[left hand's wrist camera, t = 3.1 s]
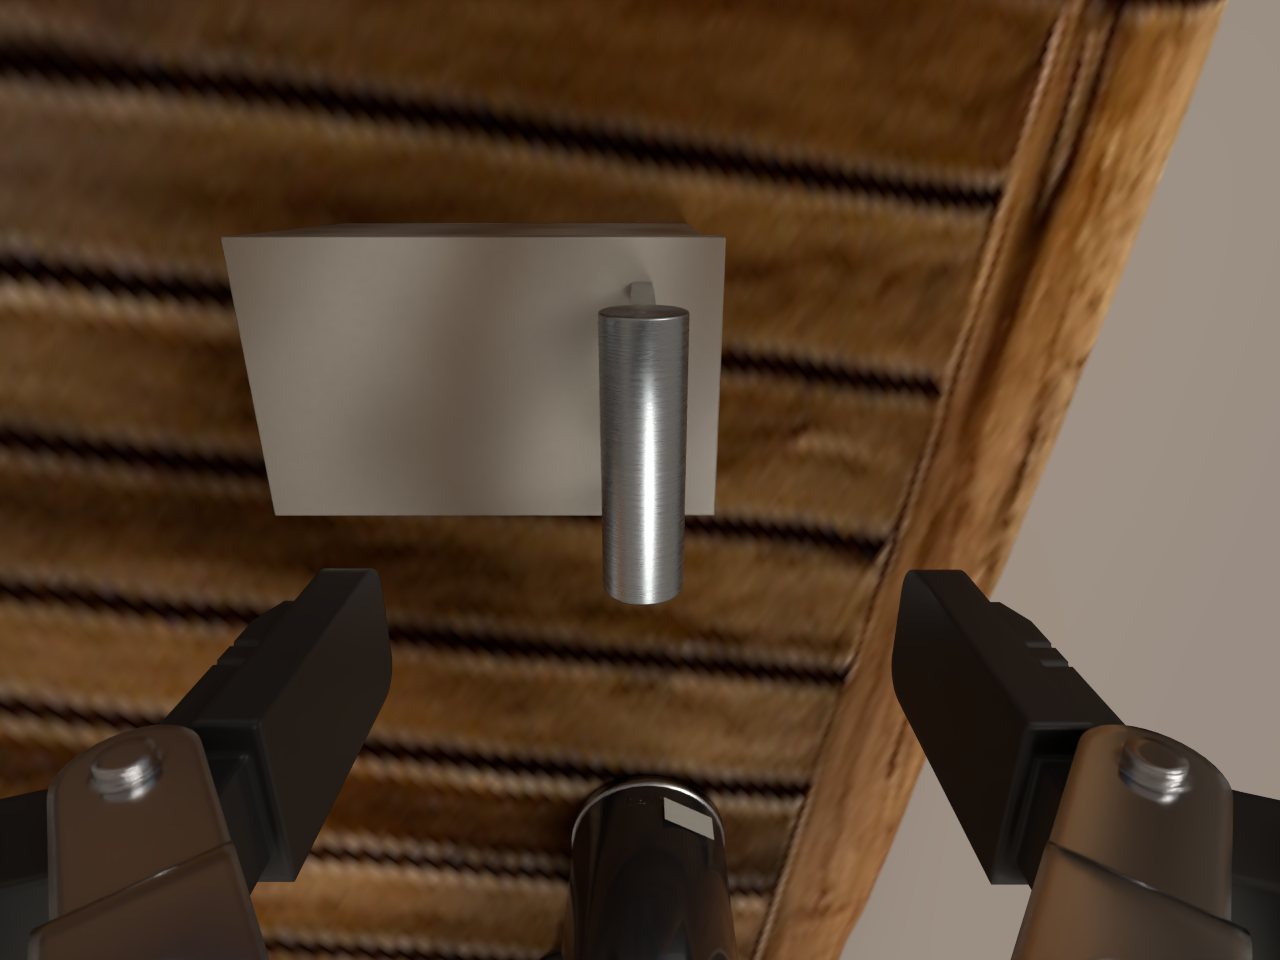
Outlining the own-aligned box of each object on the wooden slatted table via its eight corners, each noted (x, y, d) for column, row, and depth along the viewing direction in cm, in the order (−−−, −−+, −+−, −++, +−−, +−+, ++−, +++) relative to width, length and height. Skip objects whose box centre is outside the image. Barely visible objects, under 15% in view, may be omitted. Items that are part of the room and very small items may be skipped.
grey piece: (722, 235, 24) (768, 260, 16) (712, 503, 28) (745, 647, 19) (237, 235, 24) (13, 260, 16) (288, 503, 28) (127, 647, 19)
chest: (688, 223, 33) (706, 235, 24) (683, 427, 37) (698, 503, 28) (345, 223, 33) (238, 234, 24) (373, 427, 37) (288, 503, 28)
